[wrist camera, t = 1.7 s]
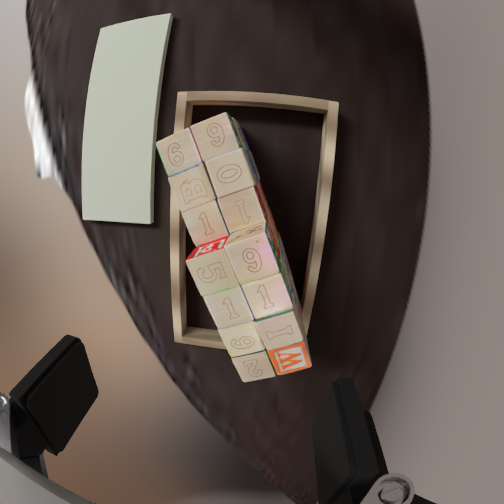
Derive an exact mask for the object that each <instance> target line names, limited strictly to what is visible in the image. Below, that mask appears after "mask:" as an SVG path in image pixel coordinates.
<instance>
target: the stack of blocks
mask: <svg viewBox="0 0 504 504" xmlns="http://www.w3.org/2000/svg"><path fill="white" fill-rule="evenodd" d="M156 147H157V149H158V152H159V155H160V157H161V160H162V163H163V166H164V168H165V170H166V173H167V175H168V180H169V183H170V186H171V188H172V191H173V193H174V196H175V198H176V201H177V203H178V206H179V209H180V211H181V212H182V217H183V219H184V222H185V224H186V227H187V229H188V231H189V234H190V236H191V238H192V241H193V242H194V244H195V246H196V248H195V249H194V250H193V251H192V253H191V254H190V255H189V256H188V257H187V259H186V264H187V266H188V268H189V271H190V273H191V275H192V277H193V279H194V281H195V284H196V286H197V288H198V290H199V292H200V294H201V296H203V298H204V301H205V303H206V305H207V307H208V310H209V312H210V314H211V315H212V318H213V320H214V322H215V324H216V326H217V327H218V332H219V334H220V336H221V338H222V340H223V342H224V344H225V346H226V348H227V350H228V352H229V354H230V356H231V357H232V361H233V363H234V365H235V367H236V369H237V371H238V373H239V375H240V377H241V379H242V381H243V382H249V381H254V380H259V379H264V378H270V377H275V376H276V374H277V375H283V374H287V373H291V372H295V371H299V370H302V369H306V368H309V367H312V363H311V358H310V353H309V349H308V342H307V336H306V330H305V327H304V324H303V319H302V314H301V313H302V310H301V305H300V301H299V298H298V294H297V291H296V288H295V284H294V279H293V276H292V272H291V269H290V266H289V263H288V259H287V257H286V253H285V250H284V246H283V243H282V240H281V237H280V234H279V232H278V231H277V229H276V225H275V222H274V219H273V216H272V213H271V210H270V207H269V206H268V203H267V200H266V197H265V194H264V191H263V189H262V186H261V183H260V176H259V173H258V170H257V167H256V164H255V162H254V159H253V156H252V153H251V152H250V149H249V146H248V143H247V141H246V138H245V135H244V133H243V130H242V127H241V126H240V125H239V123H238V122H237V121H236V120H235V119H234V118H233V117H231V116H230V115H229V114H228V113H227V112H225V113H222V114H219V115H216V116H214V117H211V118H209V119H207V120H204V121H201V122H199V123H197V124H194V125H192V126H190V127H189V128H186V129H184V130H182V131H179V132H177V133H175V134H173V135H171V136H169V137H166V138H164V139H162V140H160V141H158V142H156Z"/></svg>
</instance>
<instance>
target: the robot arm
mask: <svg viewBox="0 0 504 504" xmlns="http://www.w3.org/2000/svg"><path fill="white" fill-rule="evenodd" d="M9 395H10V396H11V398H10V399H8V397H7V396H6V395H5V394H3V393H1V392H0V504H96V503H93V502H91V501H89V500H87V499H85V498H83V497H81V496H79V495H77V494H75V493H73V492H71V491H69V490H67V489H65V488H64V487H62V486H60V485H58V484H57V483H55V482H53V481H52V480H50V479H49V478H48V474H47V469H46V465H45V460H44V454H43V451H44V450H45V449H46V450H47V451H48V452H50V453H52V454H54V455H56V456H57V455H58V453H59V452H61V451H63V450H64V448H65V446H66V445H67V443H68V442H69V440H70V438H71V437H72V435H73V434H74V432H75V431H76V429H77V427H78V426H79V424H80V422H81V421H82V419H83V418H84V416H85V415H86V413H87V412H88V410H89V408H90V407H91V406H92V404H93V403H94V401H95V400H96V398H97V396H98V388H97V385H96V382H95V379H94V376H93V373H92V370H91V367H90V364H89V360H88V357H87V354H86V351H85V347H84V345H83V343H82V342H81V340H80V339H79V338H77V337H73V336H71V335H66V336H64V337H63V338H62V339H61V340H60V341H59V342H58V343H57V344H56V345H55V346H54V347H53V348H52V349H51V350H50V351H49V352H48V353H47V354H46V355H45V356H44V357H43V358H42V359H41V360H40V361H39V362H38V363H37V364H36V365H35V366H34V367H33V368H32V369H31V370H30V371H29V372H28V374H27V375H25V377H24V378H23V379H22V380H21V381H20V382H19V383H18V384H17V385H16V386H15V387H14V388H13V389H12V391H11V392H10V393H9ZM312 434H313V444H314V455H315V465H316V477H317V489H318V503H319V504H436V503H433V502H431V501H429V500H426V499H424V498H422V497H420V496H418V495H416V494H414V493H415V491H414V485H413V483H412V481H411V480H410V479H409V478H408V477H406V476H404V475H402V474H398V473H390V474H389V473H388V470H387V466H386V462H385V459H384V456H383V452H382V448H381V445H380V441H379V438H378V435H377V432H376V429H375V425H374V422H373V419H372V416H371V414H370V412H368V411H363V410H362V407H361V403H360V400H359V397H358V393H357V390H356V387H355V384H354V381H353V379H352V378H335V380H334V382H330V383H329V385H328V388H327V391H326V394H325V396H324V399H323V402H322V405H321V407H320V410H319V412H318V415H317V418H316V420H315V423H314V425H313V431H312Z"/></svg>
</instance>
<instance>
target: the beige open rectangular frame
mask: <svg viewBox="0 0 504 504" xmlns="http://www.w3.org/2000/svg"><path fill="white" fill-rule="evenodd" d="M193 105H233V106H254V107H268V108H279V109H289V110H298V111H306V112H313V113H320V114H324V116H323V130H322V142H321V153H320V164H319V174H318V183H317V192H316V201H315V209H314V217H313V225H312V232H311V240H310V247H309V254H308V260H307V267H306V273H305V280H304V286H303V292H302V298H301V303H300V305H301V310H302V313H301V314H302V319H303V324H304V327H305V330H306V336H307V332H308V327H309V322H310V317H311V312H312V307H313V302H314V297H315V292H316V286H317V281H318V275H319V269H320V264H321V258H322V251H323V245H324V238H325V232H326V225H327V218H328V210H329V202H330V194H331V186H332V177H333V168H334V157H335V147H336V135H337V121H338V105H339V102H334V101H328V100H322V99H315V98H308V97H300V96H292V95H282V94H271V93H258V92H237V91H191V92H178V96H177V106H176V116H175V127H174V134H175V133H177V132H179V131H182V130H184V129H186V128H189V127H190V126H191V120H192V109H193ZM170 262H171V291H172V311H173V326H174V339H175V342H179V343H185V344H192V345H198V346H205V347H212V348H219V349H227V348H226V346H225V344H224V342H223V340H222V338H221V336H220V334H219V332H218V330H211V329H204V328H197V327H190V326H187V313H186V224H185V222H184V219H183V217H182V212H181V211H180V209H179V206H178V203H177V201H176V198H175V196H174V193H173V191H172V188H171V203H170Z"/></svg>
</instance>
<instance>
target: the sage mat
mask: <svg viewBox="0 0 504 504" xmlns="http://www.w3.org/2000/svg"><path fill="white" fill-rule="evenodd" d="M172 21H173V16H172V14H171V13H169V14H163V15H157V16H151V17H146V18H141V19H136V20H131V21H127V22H123V23H119V24H115V25H111V26H108V27H104V28H101V30H100V34H99V38H98V42H97V46H96V51H95V55H94V60H93V65H92V70H91V76H90V82H89V88H88V95H87V103H86V111H85V121H84V133H83V149H82V212H83V220H98V221H113V222H128V223H142V224H151V223H153V222H154V172H155V152H156V137H157V124H158V113H159V104H160V95H161V87H162V79H163V72H164V65H165V59H166V53H167V47H168V41H169V36H170V31H171V26H172Z"/></svg>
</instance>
